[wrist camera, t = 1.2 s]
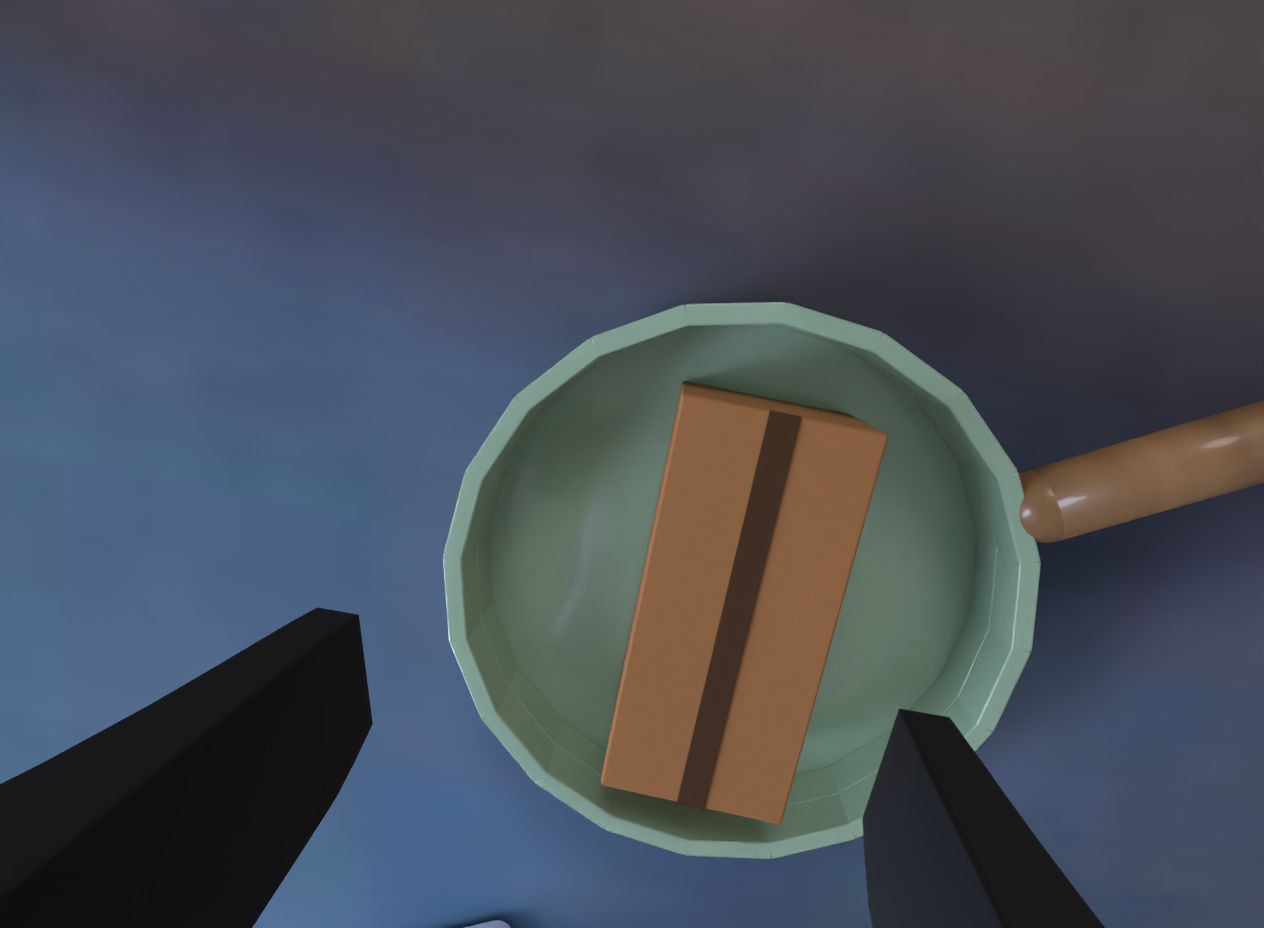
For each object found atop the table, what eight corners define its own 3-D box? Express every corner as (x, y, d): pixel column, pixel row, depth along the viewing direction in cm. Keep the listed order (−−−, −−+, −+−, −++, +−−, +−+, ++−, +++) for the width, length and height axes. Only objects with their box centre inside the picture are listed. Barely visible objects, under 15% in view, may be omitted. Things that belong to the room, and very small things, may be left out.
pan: (1037, 717, 20) (1097, 783, 17) (575, 833, 22) (559, 910, 19) (909, 228, 18) (953, 208, 15) (404, 405, 20) (356, 419, 17)
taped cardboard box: (764, 740, 20) (782, 827, 17) (614, 707, 21) (599, 787, 17) (850, 414, 18) (890, 434, 15) (682, 379, 19) (682, 393, 15)
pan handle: (996, 539, 18) (1030, 562, 16) (979, 474, 17) (1012, 490, 16) (1431, 414, 16) (1521, 425, 15) (1420, 341, 16) (1511, 343, 14)
